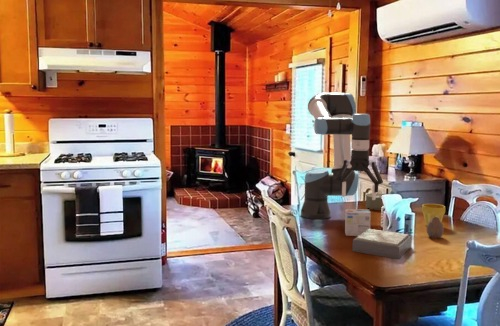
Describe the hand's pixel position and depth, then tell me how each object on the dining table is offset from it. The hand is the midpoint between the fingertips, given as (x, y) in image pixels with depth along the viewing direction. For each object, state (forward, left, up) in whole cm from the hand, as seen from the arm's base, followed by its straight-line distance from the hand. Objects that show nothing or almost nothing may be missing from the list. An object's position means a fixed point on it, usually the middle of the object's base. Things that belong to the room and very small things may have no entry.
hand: (358, 198), depth 215 cm
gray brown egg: (+30, +14, -17) cm, 37 cm away
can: (-10, +59, -17) cm, 62 cm away
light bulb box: (0, 0, -17) cm, 17 cm away
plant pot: (+25, +34, -17) cm, 45 cm away
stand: (+16, -16, -16) cm, 28 cm away
